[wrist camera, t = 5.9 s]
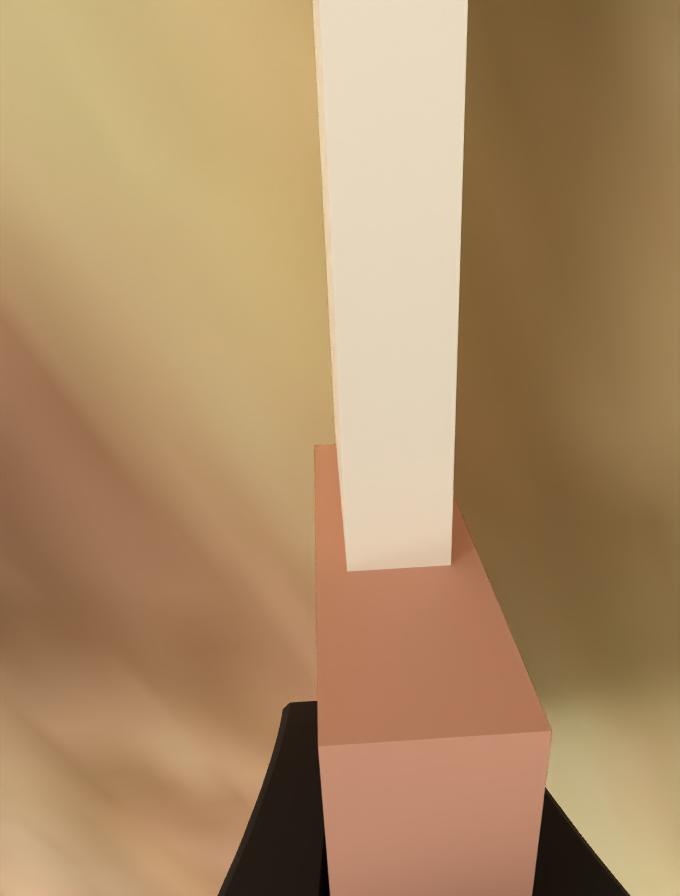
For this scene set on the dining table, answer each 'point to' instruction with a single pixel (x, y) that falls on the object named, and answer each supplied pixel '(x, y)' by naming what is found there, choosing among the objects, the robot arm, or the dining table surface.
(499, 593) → the dining table surface
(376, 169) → the cream pillar on pink
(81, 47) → the dining table surface
